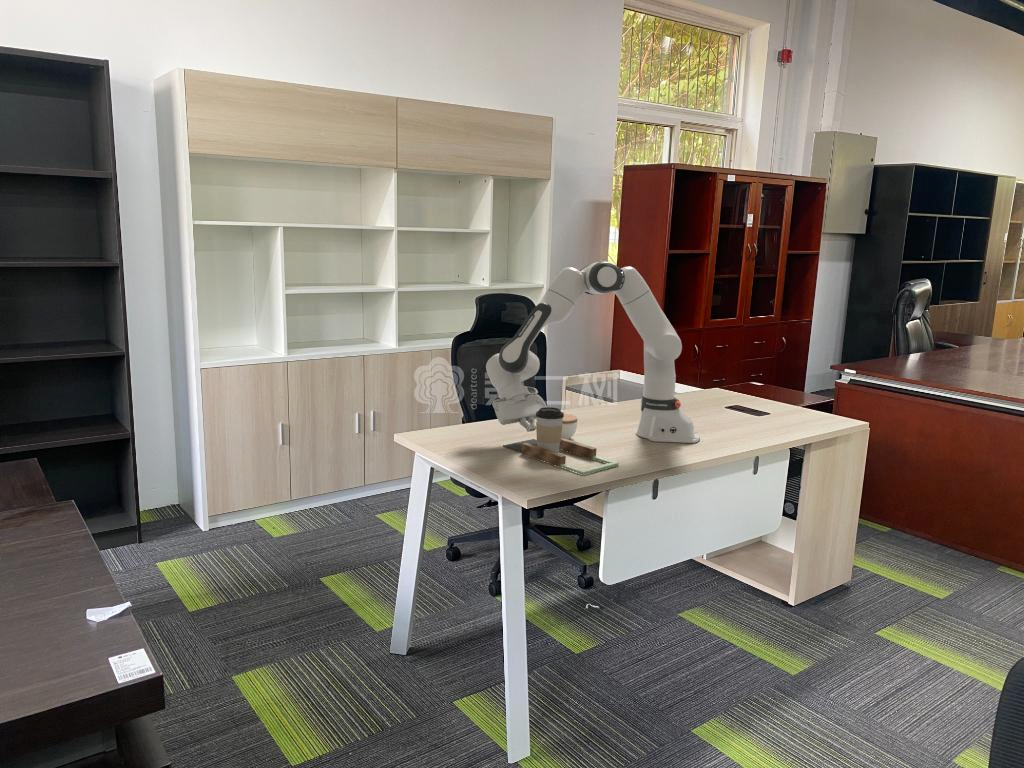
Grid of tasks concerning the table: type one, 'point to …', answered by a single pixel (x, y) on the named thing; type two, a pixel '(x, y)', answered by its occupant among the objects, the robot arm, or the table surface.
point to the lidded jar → (568, 426)
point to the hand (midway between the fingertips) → (532, 430)
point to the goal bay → (594, 469)
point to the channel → (556, 457)
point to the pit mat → (520, 444)
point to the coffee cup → (549, 428)
